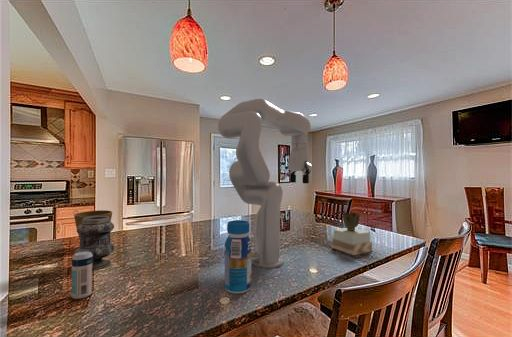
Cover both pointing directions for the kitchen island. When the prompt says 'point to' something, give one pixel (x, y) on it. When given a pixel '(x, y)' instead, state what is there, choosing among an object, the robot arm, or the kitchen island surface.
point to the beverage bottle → (238, 257)
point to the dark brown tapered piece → (351, 220)
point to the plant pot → (82, 215)
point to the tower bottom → (352, 247)
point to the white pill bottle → (81, 275)
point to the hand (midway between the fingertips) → (299, 182)
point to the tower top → (351, 236)
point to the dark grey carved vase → (96, 239)
